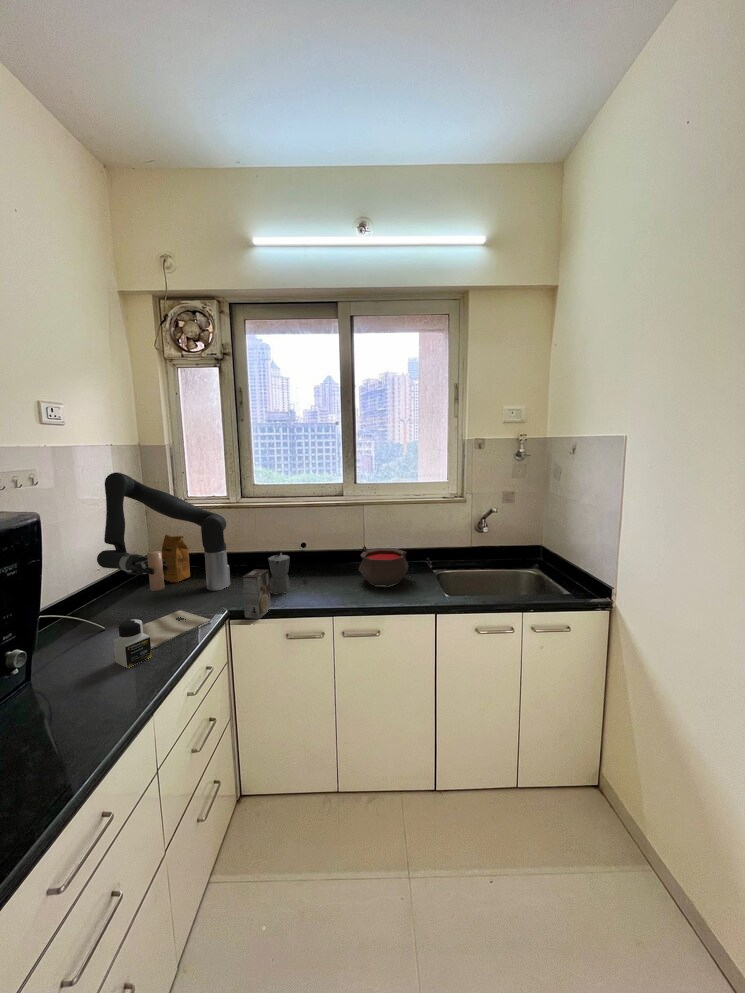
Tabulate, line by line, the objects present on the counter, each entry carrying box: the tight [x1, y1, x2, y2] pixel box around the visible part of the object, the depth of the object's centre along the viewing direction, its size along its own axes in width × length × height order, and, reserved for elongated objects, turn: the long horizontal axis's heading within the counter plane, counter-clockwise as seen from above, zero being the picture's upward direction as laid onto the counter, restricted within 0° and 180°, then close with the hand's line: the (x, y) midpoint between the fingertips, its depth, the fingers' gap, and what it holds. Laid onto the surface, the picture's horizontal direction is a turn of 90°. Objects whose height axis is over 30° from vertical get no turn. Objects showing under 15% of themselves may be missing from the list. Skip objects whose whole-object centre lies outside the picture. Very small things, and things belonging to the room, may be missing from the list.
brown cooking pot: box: [358, 544, 409, 586], centre depth 181 cm, size 24×24×16 cm
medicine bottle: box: [113, 618, 153, 669], centre depth 117 cm, size 7×7×12 cm
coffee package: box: [160, 534, 191, 583], centre depth 190 cm, size 10×12×22 cm
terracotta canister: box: [146, 550, 166, 592], centre depth 149 cm, size 5×5×14 cm
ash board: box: [142, 610, 211, 649], centre depth 137 cm, size 22×18×1 cm
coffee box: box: [242, 568, 272, 620], centre depth 149 cm, size 9×6×16 cm
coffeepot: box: [267, 550, 292, 594], centre depth 173 cm, size 15×9×18 cm, turn 8°
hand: (160, 569), depth 148 cm, fingers closed on terracotta canister, 4 cm apart
